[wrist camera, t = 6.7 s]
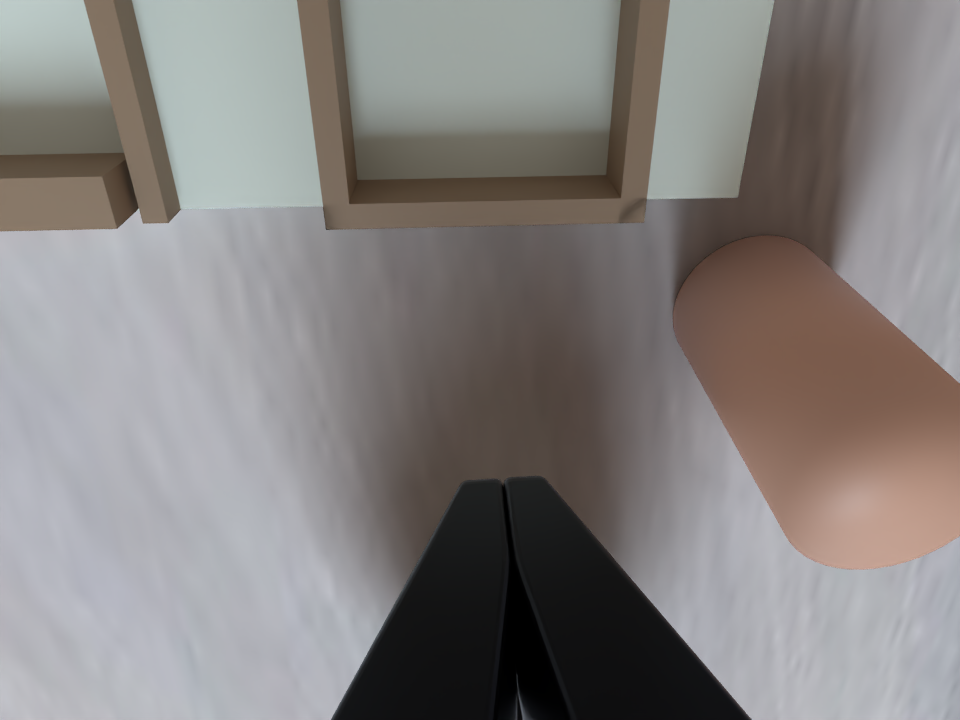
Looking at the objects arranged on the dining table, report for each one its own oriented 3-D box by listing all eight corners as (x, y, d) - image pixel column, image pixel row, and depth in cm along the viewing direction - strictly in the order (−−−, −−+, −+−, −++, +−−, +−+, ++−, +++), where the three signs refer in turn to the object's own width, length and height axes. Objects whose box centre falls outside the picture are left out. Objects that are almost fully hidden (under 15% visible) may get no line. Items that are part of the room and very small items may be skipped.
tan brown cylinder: (807, 370, 20) (965, 565, 14) (663, 374, 20) (759, 573, 14) (845, 233, 18) (1050, 392, 12) (684, 237, 17) (808, 400, 11)
